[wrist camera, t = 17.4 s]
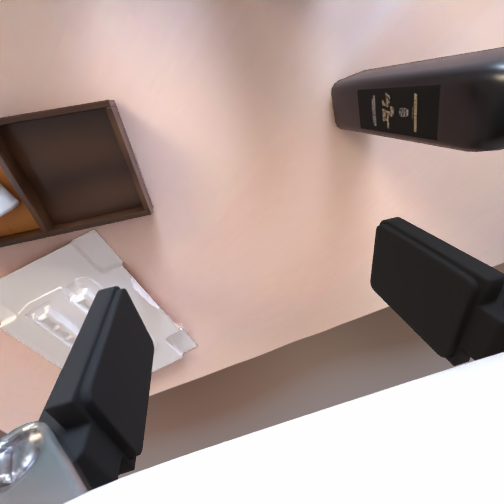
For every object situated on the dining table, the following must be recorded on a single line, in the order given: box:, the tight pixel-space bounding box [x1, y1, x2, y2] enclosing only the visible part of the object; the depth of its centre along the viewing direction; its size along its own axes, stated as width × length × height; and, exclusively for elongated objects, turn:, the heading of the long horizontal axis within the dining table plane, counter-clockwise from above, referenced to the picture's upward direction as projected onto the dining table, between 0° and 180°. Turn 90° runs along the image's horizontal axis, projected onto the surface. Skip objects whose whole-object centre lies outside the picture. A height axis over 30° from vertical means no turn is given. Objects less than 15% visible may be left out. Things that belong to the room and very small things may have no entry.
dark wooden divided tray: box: [0, 100, 153, 247], centre depth 30 cm, size 13×25×3 cm, turn 98°
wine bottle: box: [332, 47, 504, 152], centre depth 22 cm, size 6×6×30 cm
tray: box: [0, 230, 198, 372], centre depth 42 cm, size 20×28×4 cm
